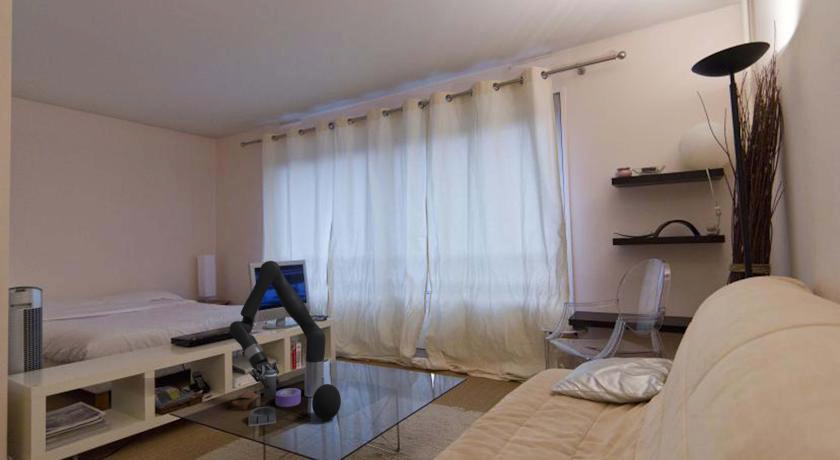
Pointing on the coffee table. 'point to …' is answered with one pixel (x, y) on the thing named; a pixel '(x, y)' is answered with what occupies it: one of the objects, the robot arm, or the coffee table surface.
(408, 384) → the coffee table surface
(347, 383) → the coffee table surface
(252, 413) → the mount
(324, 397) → the decorative egg
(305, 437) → the coffee table surface
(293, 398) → the tape roll
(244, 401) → the sunglasses case
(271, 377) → the lens
